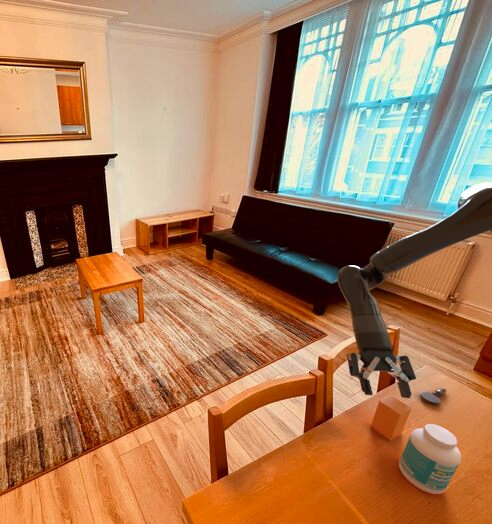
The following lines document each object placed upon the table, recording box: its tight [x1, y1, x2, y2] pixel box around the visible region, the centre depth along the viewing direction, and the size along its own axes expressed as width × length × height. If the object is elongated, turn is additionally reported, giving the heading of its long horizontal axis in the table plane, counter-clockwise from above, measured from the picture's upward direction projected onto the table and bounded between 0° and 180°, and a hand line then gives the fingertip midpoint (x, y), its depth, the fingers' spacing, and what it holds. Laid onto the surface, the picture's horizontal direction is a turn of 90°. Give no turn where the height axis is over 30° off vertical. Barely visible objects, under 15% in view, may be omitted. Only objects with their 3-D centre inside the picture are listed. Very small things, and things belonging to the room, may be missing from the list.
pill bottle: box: [398, 423, 462, 495], centre depth 58 cm, size 8×7×14 cm
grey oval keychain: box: [419, 387, 448, 406], centre depth 79 cm, size 9×4×1 cm, turn 112°
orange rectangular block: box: [370, 394, 412, 442], centre depth 69 cm, size 4×4×9 cm
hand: (387, 396), depth 70 cm, fingers open, 8 cm apart
